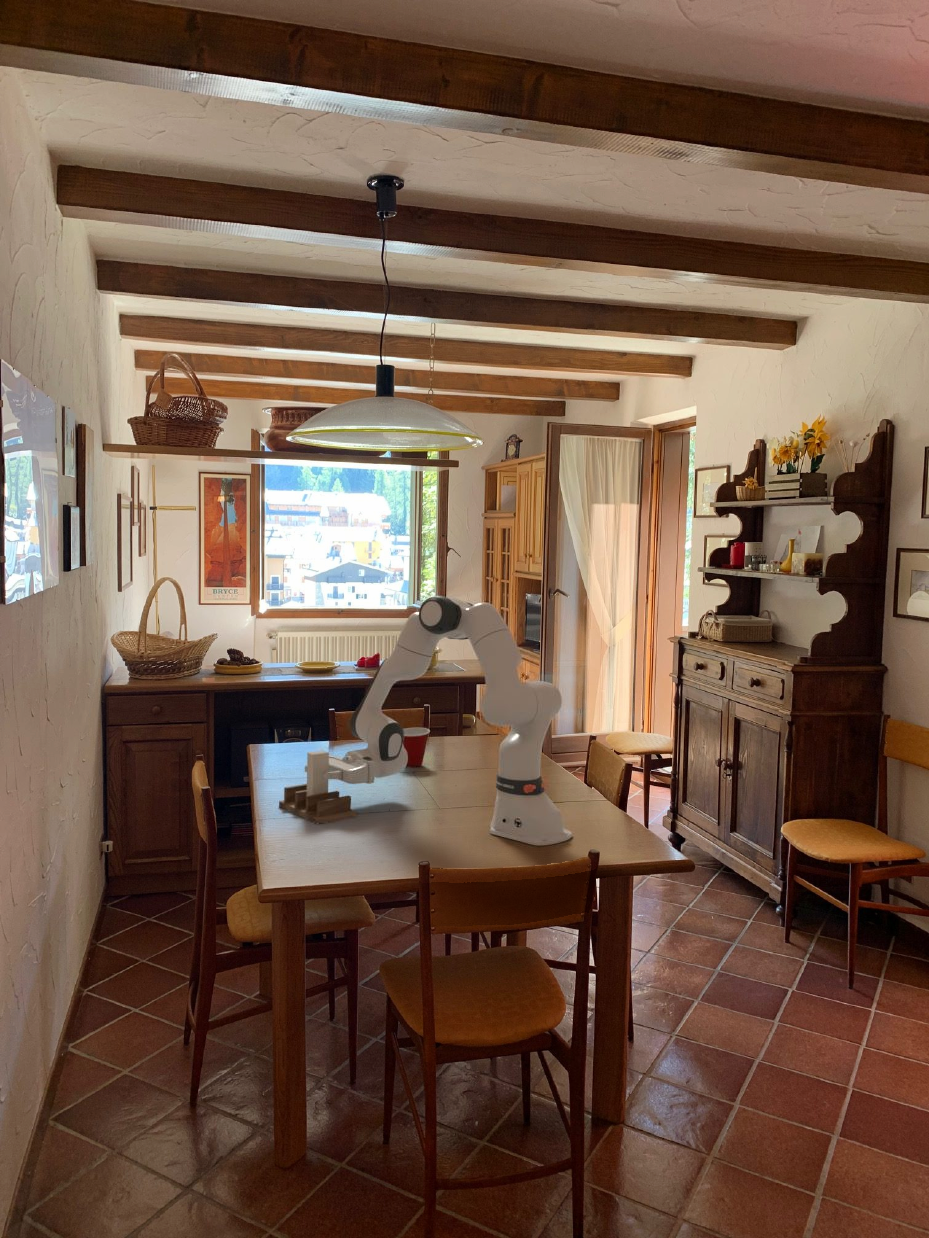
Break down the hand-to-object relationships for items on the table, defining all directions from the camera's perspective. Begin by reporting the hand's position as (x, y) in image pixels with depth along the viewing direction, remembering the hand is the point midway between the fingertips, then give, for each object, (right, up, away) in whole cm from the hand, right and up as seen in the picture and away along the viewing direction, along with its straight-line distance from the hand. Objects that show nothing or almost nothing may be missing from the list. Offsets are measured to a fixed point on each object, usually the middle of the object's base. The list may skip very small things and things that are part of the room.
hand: (314, 772), depth 253 cm
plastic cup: (+24, -7, +58) cm, 63 cm away
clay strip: (0, -9, +1) cm, 10 cm away
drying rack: (0, -11, +1) cm, 11 cm away
